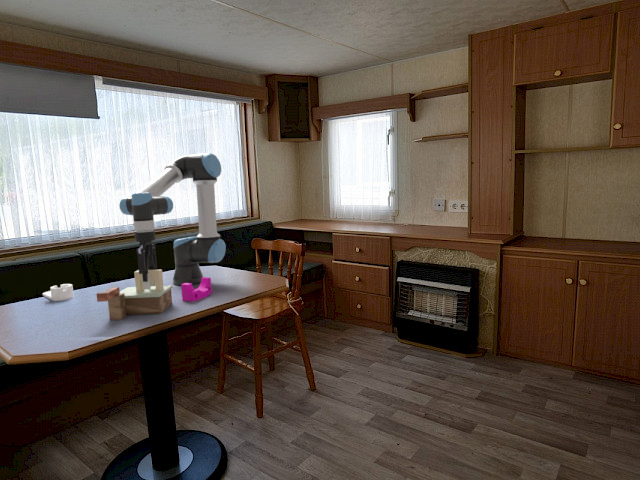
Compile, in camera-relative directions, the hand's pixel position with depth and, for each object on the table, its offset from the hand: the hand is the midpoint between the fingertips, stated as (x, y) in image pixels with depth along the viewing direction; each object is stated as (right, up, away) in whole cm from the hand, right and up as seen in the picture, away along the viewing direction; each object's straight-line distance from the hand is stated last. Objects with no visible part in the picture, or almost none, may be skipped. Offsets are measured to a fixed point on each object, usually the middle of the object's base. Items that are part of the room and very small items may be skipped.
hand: (149, 287), depth 174 cm
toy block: (+15, -7, +19) cm, 25 cm away
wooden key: (-9, -2, -15) cm, 18 cm away
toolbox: (-3, -10, -1) cm, 10 cm away
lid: (-3, -2, 0) cm, 4 cm away
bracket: (-54, -8, +27) cm, 61 cm away
